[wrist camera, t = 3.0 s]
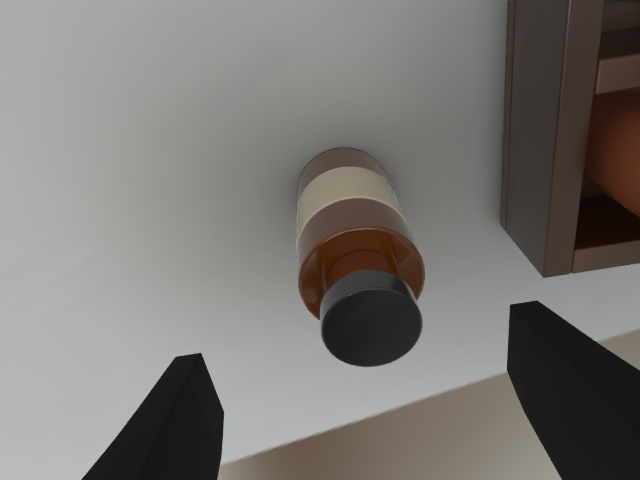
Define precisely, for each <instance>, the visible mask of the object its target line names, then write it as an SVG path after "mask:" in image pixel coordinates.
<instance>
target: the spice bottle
mask: <svg viewBox="0 0 640 480" xmlns="http://www.w3.org/2000/svg"><path fill="white" fill-rule="evenodd" d="M297 201H298V205H297V210H296V253H297V259H298V287H299V293H300V296H301V299H302V301H303V303H304V304H305V306H306V307H307V309H308V310H309V311H310V312H311V313H312V314H313V315H314V316H315V317H316V318H317V319H318V320H320V325H321V336H322V340H323V342H324V344H325V346H326V348H327V349H328V350H329V352H330V353H331V354H332V355H334V356H335V357H336V358H337V359H339V360H341V361H343V362H345V363H348V364H351V365H355V366H361V367H374V366H380V365H385V364H388V363H391V362H393V361H395V360H397V359H399V358H401V357H402V356H404V355H405V354H406V353H408V352H409V351H410V350H411V349H412V348H413V347H414V345H415V344H416V342H417V341H418V339H419V337H420V334H421V331H422V315H421V312H420V309H419V307H418V304H417V300H418V298H419V296H420V294H421V292H422V289H423V286H424V280H425V268H424V263H423V260H422V257H421V255H420V252H419V250H418V248H417V245H416V243H415V241H414V239H413V236H412V232H411V228H410V226H409V223H408V221H407V219H406V217H405V215H404V212H403V210H402V208H401V206H400V203H399V201H398V199H397V197H396V195H395V192H394V190H393V189H392V187H391V186H390V184H389V182H388V180H387V178H386V175H385V173H384V171H383V169H382V168H381V166H380V165H379V163H378V162H377V161H376V160H375V159H374V158H372V157H371V156H370V155H368V154H366V153H364V152H362V151H360V150H356V149H351V148H338V149H333V150H329V151H326V152H324V153H322V154H320V155H318V156H317V157H315V158H314V159H313V160H312V161H311V162H310V163H309V164H308V165H307V166H306V167H305V169H304V170H303V172H302V174H301V176H300V179H299V182H298V190H297Z"/></svg>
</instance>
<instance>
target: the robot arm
mask: <svg viewBox="0 0 640 480" xmlns="http://www.w3.org/2000/svg"><path fill="white" fill-rule="evenodd" d="M507 371H508V374H509V376H510V379H511V381H512V384H513V386H514V389H515V391H516V394H517V396H518V398H519V401H520V403H521V405H522V408H523V410H524V412H525V414H526V416H527V418H528V419H529V421H530V423H531V425H532V427H533V429H534V430H535V432H536V434H537V436H538V437H539V440H540V441H541V443H542V445H543V446H544V448H545V450H546V452H547V453H548V456H549V457H550V459H551V461H552V463H553V464H554V466H555V468H556V470H557V472H558V473H559V475H560V477H561V479H562V480H640V370H638V369H636V368H635V367H633V366H632V365H630V364H629V363H627V362H626V361H624V360H622V359H621V358H619V357H618V356H616V355H615V354H613V353H612V352H610V351H609V350H607V349H606V348H604V347H603V346H601V345H600V344H598V343H597V342H596V341H594V340H593V339H591V338H590V337H588V336H587V335H585V334H584V333H583V332H581V331H580V330H578V329H577V328H575V327H574V326H573V325H571V324H570V323H568V322H567V321H566V320H564V319H563V318H561V317H560V316H559V315H557V314H556V313H554V312H553V311H551V310H550V309H549V308H547V307H546V306H544V305H543V304H541V303H540V302H538V301H531V302H525V303H518V304H512V305H510V317H509V338H508V359H507ZM223 423H224V411H223V408H222V406H221V403H220V401H219V398H218V395H217V393H216V390H215V388H214V385H213V382H212V380H211V377H210V375H209V372H208V370H207V367H206V364H205V362H204V359H203V357H202V354H201V353H197V354H191V355H184V356H178V357H175V359H174V360H173V361H172V363H171V364H170V365H169V367H168V368H167V369H166V371H165V372H164V373H163V375H162V376H161V377H160V379H159V380H158V382H157V383H156V384H155V386H154V387H153V389H152V390H151V391H150V393H149V394H148V395H147V397H146V398H145V400H144V401H143V402H142V404H141V405H140V406H139V408H138V409H137V410H136V412H135V413H134V414H133V416H132V417H131V418H130V420H129V421H128V422H127V424H126V425H125V426H124V428H123V429H122V430H121V432H120V433H119V434H118V436H117V437H116V438H115V439H114V441H113V442H112V443H111V444H110V446H109V447H108V448H107V449H106V451H105V452H104V453H103V454H102V455H101V457H100V458H99V459H98V460H97V462H96V463H95V464H94V465H93V466H92V468H91V469H90V470H89V471H88V473H87V474H86V475H85V476H84V477H83V478H82V480H217V477H218V472H219V466H220V460H221V454H222V440H223Z"/></svg>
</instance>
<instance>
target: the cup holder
mask: <svg viewBox="0 0 640 480" xmlns="http://www.w3.org/2000/svg"><path fill="white" fill-rule="evenodd" d="M629 89H635V90H638V91H640V3H631V2H620V1H611V0H509V6H508V35H507V63H506V92H505V121H504V150H503V179H502V207H501V226H502V227H503V229H504V230H505V231H506V232H507V234H508V235H509V236H510V237H511V239H512V240H513V241H514V242H515V244H516V245H517V246H518V247H519V248H520V250H521V251H522V252H523V253H524V255H525V256H526V257H527V258H528V260H529V261H530V262H531V263H532V265H533V266H534V267H535V268H536V269H537V271H538V272H539V273H540V274H541V276H542V277H543V278H546V277H553V276H559V275H565V274H570V273H579V272H585V271H591V270H598V269H604V268H611V267H617V266H624V265H630V264H636V263H640V219H639V218H638V217H636V216H635V215H634V214H632V213H631V212H629V211H628V210H627V209H625V208H624V207H622V206H621V205H620V204H618V203H617V202H615V201H614V200H613V199H611V198H610V197H608V196H607V195H606V194H604V193H603V192H601V191H600V190H599V189H597V188H596V187H594V186H593V185H592V184H590V183H589V182H587V181H586V180H585V179H583V174H584V166H585V158H586V150H587V142H588V134H589V126H590V118H591V110H592V102H593V96H594V95H599V94H605V93H611V92H617V91H623V90H629Z"/></svg>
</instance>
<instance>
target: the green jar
mask: <svg viewBox="0 0 640 480" xmlns="http://www.w3.org/2000/svg"><path fill="white" fill-rule="evenodd" d="M611 1H620V2H631V3H640V0H611Z"/></svg>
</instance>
